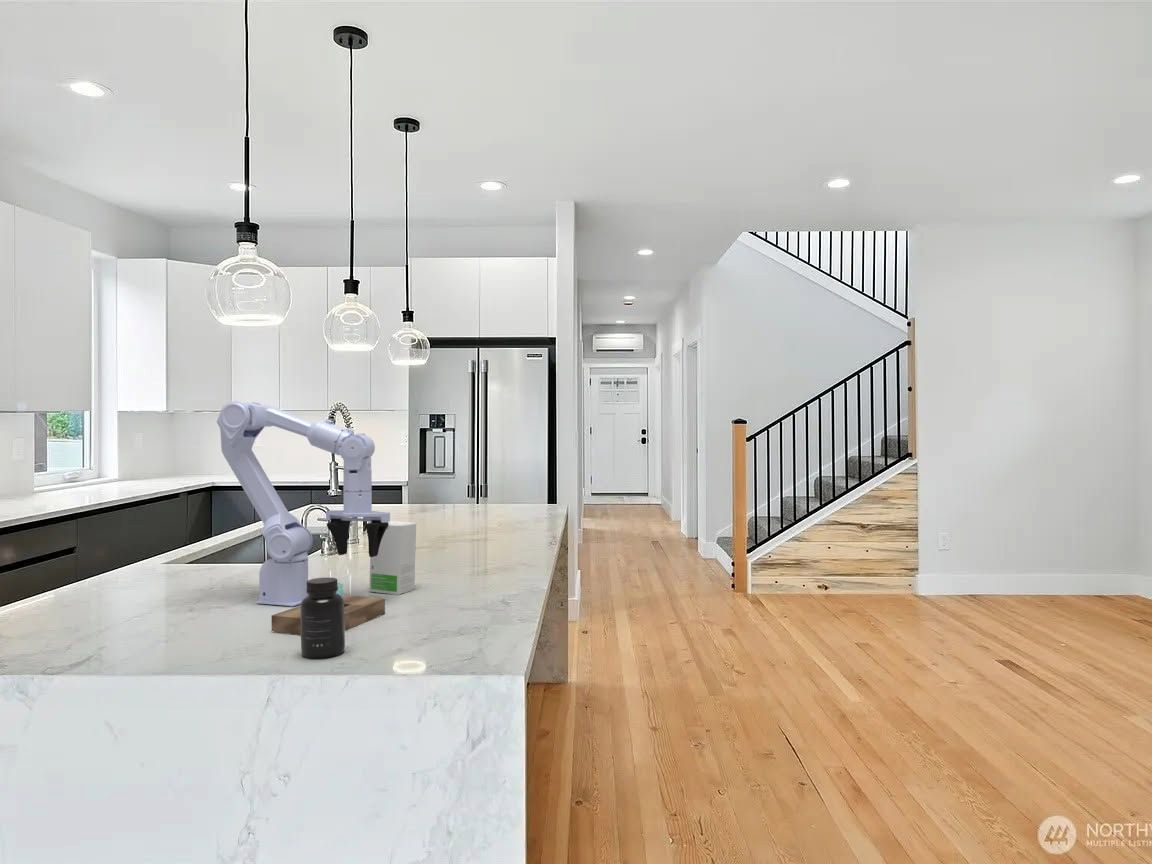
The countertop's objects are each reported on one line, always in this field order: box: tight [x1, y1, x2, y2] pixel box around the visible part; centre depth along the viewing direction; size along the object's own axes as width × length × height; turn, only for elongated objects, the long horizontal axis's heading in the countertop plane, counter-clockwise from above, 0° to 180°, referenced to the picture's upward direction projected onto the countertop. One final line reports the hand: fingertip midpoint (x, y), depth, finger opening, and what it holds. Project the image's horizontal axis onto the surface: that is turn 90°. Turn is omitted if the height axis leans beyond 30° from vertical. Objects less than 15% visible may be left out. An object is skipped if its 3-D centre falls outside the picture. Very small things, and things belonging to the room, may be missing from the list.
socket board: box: [271, 594, 386, 636], centre depth 143 cm, size 12×18×3 cm, turn 162°
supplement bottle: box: [299, 576, 346, 660], centre depth 123 cm, size 7×7×12 cm
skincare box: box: [369, 520, 417, 596], centre depth 171 cm, size 8×7×16 cm
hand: (357, 555), depth 159 cm, fingers open, 7 cm apart
